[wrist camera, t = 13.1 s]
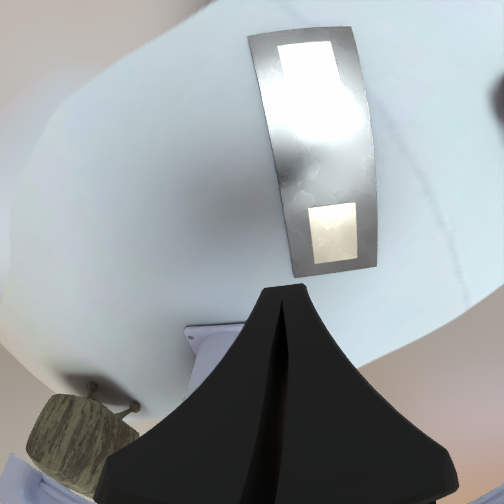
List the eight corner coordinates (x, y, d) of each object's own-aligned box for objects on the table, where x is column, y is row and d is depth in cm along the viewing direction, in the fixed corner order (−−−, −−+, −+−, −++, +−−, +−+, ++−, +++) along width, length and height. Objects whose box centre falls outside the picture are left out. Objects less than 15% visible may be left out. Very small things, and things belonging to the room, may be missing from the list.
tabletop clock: (95, 403, 37) (51, 513, 15) (60, 371, 33) (3, 487, 11) (153, 409, 33) (110, 551, 11) (114, 372, 29) (49, 533, 8)
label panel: (375, 263, 18) (377, 267, 18) (294, 274, 19) (294, 278, 19) (349, 28, 11) (351, 26, 11) (248, 38, 12) (247, 36, 12)
